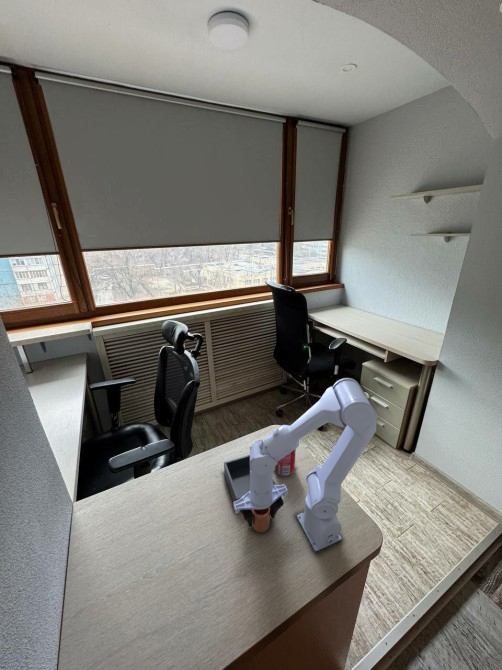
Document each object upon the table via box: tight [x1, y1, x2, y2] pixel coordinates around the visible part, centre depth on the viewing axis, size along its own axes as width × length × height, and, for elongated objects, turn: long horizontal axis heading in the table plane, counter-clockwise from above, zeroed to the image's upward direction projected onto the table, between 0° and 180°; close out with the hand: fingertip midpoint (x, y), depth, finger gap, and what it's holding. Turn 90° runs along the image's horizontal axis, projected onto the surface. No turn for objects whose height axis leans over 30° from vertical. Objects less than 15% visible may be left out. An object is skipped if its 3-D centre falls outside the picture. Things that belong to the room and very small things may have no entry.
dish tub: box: [223, 454, 277, 502], centre depth 83 cm, size 13×12×5 cm
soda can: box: [274, 448, 297, 476], centre depth 87 cm, size 7×7×13 cm
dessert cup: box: [251, 506, 271, 533], centre depth 72 cm, size 5×5×6 cm
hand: (260, 519), depth 73 cm, fingers open, 6 cm apart
